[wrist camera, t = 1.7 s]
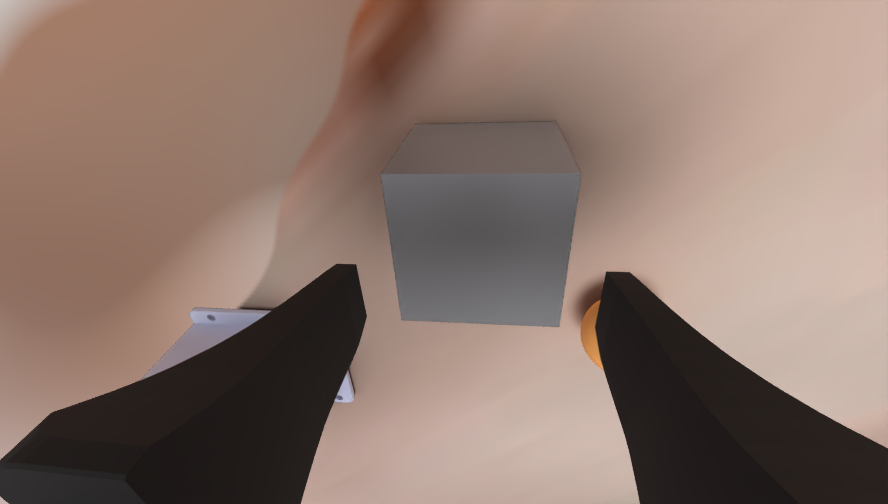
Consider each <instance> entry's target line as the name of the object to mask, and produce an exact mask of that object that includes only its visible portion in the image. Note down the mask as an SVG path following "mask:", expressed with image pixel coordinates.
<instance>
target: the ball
mask: <svg viewBox="0 0 888 504" xmlns="http://www.w3.org/2000/svg"><path fill="white" fill-rule="evenodd" d="M599 305H600V300H599V301H597V302H596V303H594V304H593V305H592V306H591V307H590V308H589V309H588V311H587V312H586V314H585V316H584V318H583V320H582V324H581V341H582V344H583V347H584V349H585V351H586V353H587V355H588V356H589V357H590V359H591V360H592V361H593V362H594V363H595V364H596V365H597V366H598V367H600V368H601V369H603V366H602V362H601V359H600V354H599V349H598V343H597V337H596V331H595V324H596V319H597V314H598V309H599ZM603 370H604V369H603Z"/></svg>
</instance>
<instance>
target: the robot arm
mask: <svg viewBox="0 0 888 504" xmlns="http://www.w3.org/2000/svg"><path fill="white" fill-rule="evenodd" d="M190 317H191V319H192V321H193V323H194V324H193V325H192V326H191V327H190V328H189V329H188V330H187V331H186V332H185V333H184V334H183V336H182V337H181V338H180V339H179V340H178V341H177V342H176V343H175V344H174V345H173V346H172V347H171V348H170V349H169V350H168V351H167V353H165V354H164V355H163V356H162V357H161V359H160V360H159V361H158V362H157V363H156V364H155V365H154V366H153V367H152V368H151V369H150V370H149V371H148V372H147V373H146V374H145V375H144V376H143V377H142V378H141V379H140V380H139V381H137V382H135V383H132V384H130V385H128V386H125V387H122V388H120V389H117V390H115V391H112V392H109V393H106V394H104V395H101V396H98V397H95V398H92V399H90V400H87V401H84V402H81V403H78V404H75V405H72V406H70V407H67V408H64V409H61V410H58V411H55V412H52V413H51V414H50V415H48V416H47V417H46V418H45V419H44V420H43V421H42V422H41V423H40V424H39V425H38V426H36V427H35V428H34V429H33V430H32V431H31V432H30V433H29V434H28V435H27V436H26V437H25V438H24V439H23V440H21V441H20V442H19V443H18V444H17V445H16V446H15V447H14V448H13V449H12V450H11V451H10V452H9V453H7V454H6V455H5V456H4V457H3V458H2V459H1V460H0V496H1V497H2V498H3V499H4V500H5V501H6V502H8V503H9V504H301V501H302V497H303V493H304V490H305V486H306V483H307V480H308V476H309V473H310V470H311V466H312V463H313V460H314V456H315V453H316V450H317V447H318V444H319V441H320V438H321V435H322V431H323V428H324V425H325V423H326V420H327V418H328V415H329V412H330V410H331V408H332V405H333V403H334V401H335V402H352V401H353V399H354V397H355V394H354V390H353V386H352V383H351V379H350V375H349V371H348V369H349V367H350V364H351V362H352V360H353V358H354V355H355V353H356V350H357V348H358V346H359V342H360V339H361V336H362V332H363V329H364V325H365V321H366V317H367V315H366V310H365V305H364V300H363V296H362V291H361V286H360V281H359V276H358V271H357V266H356V264H336V265H335V266H333V267H331V268H330V269H329V270H327V271H326V272H324V273H323V274H322V275H320V276H319V277H318V278H316V279H315V280H314V281H312V282H311V283H310V284H308V285H307V286H306V287H304V288H303V289H302V290H300V291H299V292H297V293H296V294H295V295H293V296H292V297H291V298H289V299H288V300H287V301H285V302H284V303H282V304H281V305H279V306H278V307H276V308H275V309H274V310H272V311H265V310H242V309H219V308H194V309H193V310H192V311H191V312H190ZM595 331H596V337H597V343H598V349H599V354H600V359H601V362H602V366H603V369H604V372H605V375H606V378H607V382H608V385H609V388H610V391H611V394H612V397H613V400H614V403H615V406H616V409H617V413H618V416H619V419H620V422H621V425H622V428H623V431H624V434H625V438H626V441H627V445H628V449H629V453H630V457H631V462H632V467H633V471H634V476H635V481H636V485H637V490H638V495H639V500H640V504H888V448H886V447H884V446H882V445H880V444H878V443H876V442H874V441H872V440H870V439H868V438H866V437H865V436H863V435H861V434H859V433H857V432H855V431H853V430H851V429H849V428H847V427H845V426H843V425H842V424H840V423H838V422H836V421H834V420H832V419H831V418H829V417H827V416H825V415H823V414H821V413H820V412H818V411H816V410H814V409H813V408H811V407H809V406H808V405H806V404H804V403H802V402H801V401H799V400H797V399H796V398H794V397H792V396H791V395H789V394H787V393H785V392H784V391H782V390H780V389H779V388H777V387H776V386H774V385H772V384H771V383H769V382H768V381H766V380H765V379H763V378H762V377H760V376H759V375H757V374H756V373H754V372H753V371H751V370H750V369H748V368H747V367H745V366H744V365H742V364H741V363H739V362H738V361H736V360H735V359H733V358H732V357H731V356H729V355H728V354H726V353H725V352H724V351H722V350H721V349H720V348H718V347H717V346H716V345H714V344H713V343H712V342H711V341H709V340H708V339H707V338H705V337H704V336H703V335H701V334H700V333H699V332H698V331H696V330H695V329H694V328H693V327H692V326H690V325H689V324H688V323H687V322H685V321H684V320H683V319H682V318H681V317H680V316H678V315H677V314H676V313H675V312H674V311H673V310H671V309H670V308H669V307H668V306H667V305H666V304H665V303H664V302H662V301H661V300H660V299H659V298H658V297H657V296H656V295H655V294H654V293H652V292H651V291H650V290H649V289H648V288H647V287H646V286H645V285H644V284H643V283H641V282H640V281H639V280H638V279H637V278H636V277H635V276H633V275H632V274H631V273H630V272H606V276H605V281H604V285H603V290H602V295H601V300H600V305H599V309H598V314H597V319H596V324H595Z"/></svg>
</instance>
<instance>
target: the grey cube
mask: <svg viewBox="0 0 888 504" xmlns="http://www.w3.org/2000/svg"><path fill="white" fill-rule="evenodd" d="M580 179H581V172H580V170H579V168H578V165H577V163H576V161H575V159H574V157H573V155H572V153H571V151H570V149H569V147H568V145H567V143H566V141H565V138H564V136H563V134H562V132H561V130H560V128H559V126H558V124H557V122H556V121H547V122H499V123H451V124H415V126H414V127H413V129H412V130H411V132H410V133H409V134H408V136H407V137H406V139H405V140H404V142H403V143H402V144H401V146H400V147H399V149H398V150H397V152H396V153H395V154H394V156H393V157H392V159H391V160H390V162H389V163H388V164H387V166H386V167H385V169H384V170H383V171H382V173H381V181H382V188H383V195H384V202H385V209H386V216H387V222H388V229H389V236H390V243H391V250H392V257H393V264H394V271H395V278H396V285H397V292H398V299H399V306H400V313H401V320H410V321H432V322H454V323H477V324H499V325H521V326H543V327H559V326H560V319H561V312H562V305H563V298H564V291H565V284H566V277H567V270H568V263H569V256H570V249H571V242H572V235H573V228H574V221H575V214H576V207H577V200H578V193H579V186H580Z"/></svg>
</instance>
